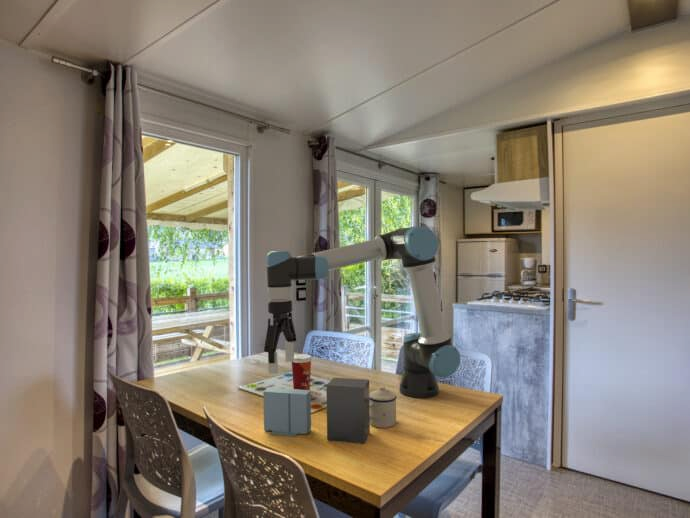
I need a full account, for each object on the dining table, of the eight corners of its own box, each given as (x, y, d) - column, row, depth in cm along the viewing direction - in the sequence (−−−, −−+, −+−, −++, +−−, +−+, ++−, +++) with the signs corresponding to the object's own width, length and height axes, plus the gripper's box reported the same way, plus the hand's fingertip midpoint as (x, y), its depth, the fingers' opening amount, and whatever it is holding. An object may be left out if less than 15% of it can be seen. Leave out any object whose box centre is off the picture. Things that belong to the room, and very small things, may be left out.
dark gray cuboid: (369, 432, 128) (369, 379, 128) (364, 444, 120) (363, 387, 120) (331, 428, 131) (330, 377, 131) (323, 439, 123) (323, 385, 123)
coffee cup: (309, 399, 158) (308, 359, 158) (288, 397, 160) (287, 358, 160) (315, 391, 166) (314, 354, 166) (295, 390, 168) (294, 353, 168)
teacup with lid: (382, 415, 142) (382, 380, 142) (402, 423, 135) (402, 387, 135) (356, 424, 134) (355, 388, 134) (375, 433, 127) (375, 395, 127)
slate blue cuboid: (311, 428, 131) (310, 390, 130) (306, 434, 127) (306, 394, 126) (269, 424, 134) (269, 387, 134) (264, 429, 130) (263, 391, 130)
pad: (304, 426, 133) (304, 425, 133) (295, 437, 125) (295, 436, 125) (280, 424, 135) (280, 423, 135) (270, 434, 127) (270, 433, 127)
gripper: (283, 295, 145) (285, 356, 146) (251, 305, 121) (253, 378, 121) (304, 295, 143) (306, 357, 144) (275, 305, 119) (277, 379, 120)
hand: (281, 367), depth 133 cm, fingers open, 13 cm apart
